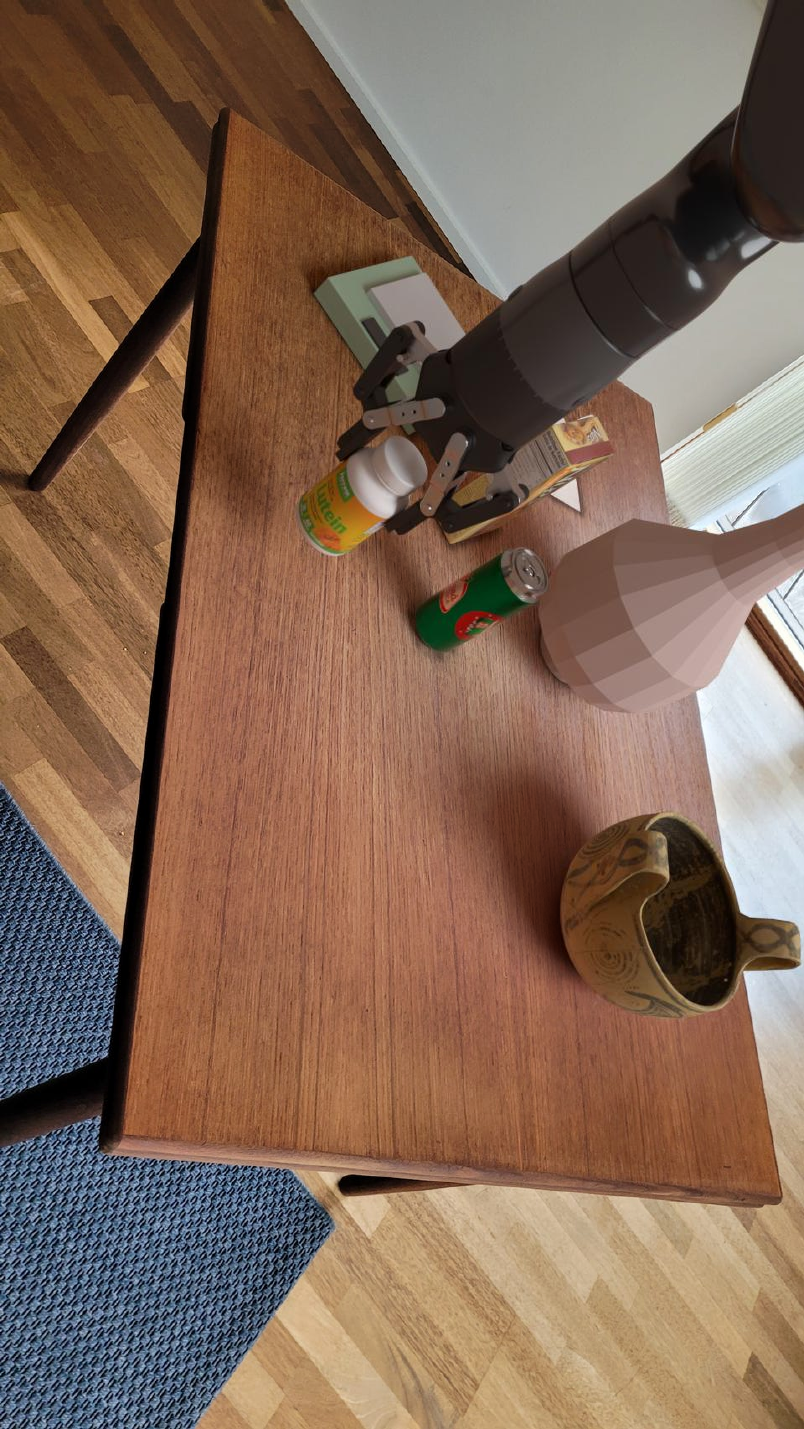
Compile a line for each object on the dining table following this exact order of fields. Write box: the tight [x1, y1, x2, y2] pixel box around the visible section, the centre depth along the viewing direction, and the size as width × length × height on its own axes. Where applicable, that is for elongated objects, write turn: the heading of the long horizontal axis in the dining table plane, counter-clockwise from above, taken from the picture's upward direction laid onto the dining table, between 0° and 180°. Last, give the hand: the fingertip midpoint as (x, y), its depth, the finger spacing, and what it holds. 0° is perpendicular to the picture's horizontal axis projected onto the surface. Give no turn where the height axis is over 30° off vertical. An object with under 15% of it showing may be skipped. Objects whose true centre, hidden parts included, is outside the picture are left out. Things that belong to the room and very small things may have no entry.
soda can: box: [414, 546, 549, 653], centre depth 78 cm, size 5×5×12 cm
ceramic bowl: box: [559, 810, 802, 1020], centre depth 77 cm, size 22×17×15 cm
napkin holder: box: [550, 414, 595, 512], centre depth 103 cm, size 15×11×6 cm
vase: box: [538, 502, 804, 715], centre depth 84 cm, size 18×18×30 cm
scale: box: [313, 255, 467, 436], centre depth 93 cm, size 16×16×3 cm
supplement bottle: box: [295, 435, 428, 557], centre depth 66 cm, size 5×5×10 cm
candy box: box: [437, 415, 615, 545], centre depth 85 cm, size 9×4×15 cm, turn 129°
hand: (368, 490), depth 65 cm, fingers closed on supplement bottle, 5 cm apart
